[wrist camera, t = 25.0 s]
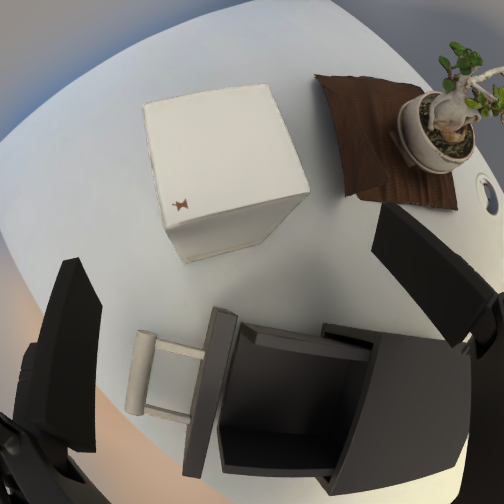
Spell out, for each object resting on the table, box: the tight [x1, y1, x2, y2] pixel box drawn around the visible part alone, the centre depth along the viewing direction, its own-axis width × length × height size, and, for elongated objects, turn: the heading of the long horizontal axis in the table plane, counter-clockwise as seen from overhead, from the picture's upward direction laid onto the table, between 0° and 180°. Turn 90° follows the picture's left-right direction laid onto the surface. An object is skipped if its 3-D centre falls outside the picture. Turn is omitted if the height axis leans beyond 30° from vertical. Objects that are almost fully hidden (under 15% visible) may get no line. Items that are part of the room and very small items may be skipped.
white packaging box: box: [142, 84, 311, 264], centre depth 19 cm, size 7×7×13 cm
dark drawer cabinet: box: [315, 323, 471, 496], centre depth 20 cm, size 15×13×10 cm
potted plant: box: [314, 42, 504, 211], centre depth 21 cm, size 20×19×25 cm
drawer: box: [125, 307, 373, 479], centre depth 19 cm, size 18×11×8 cm, turn 77°
